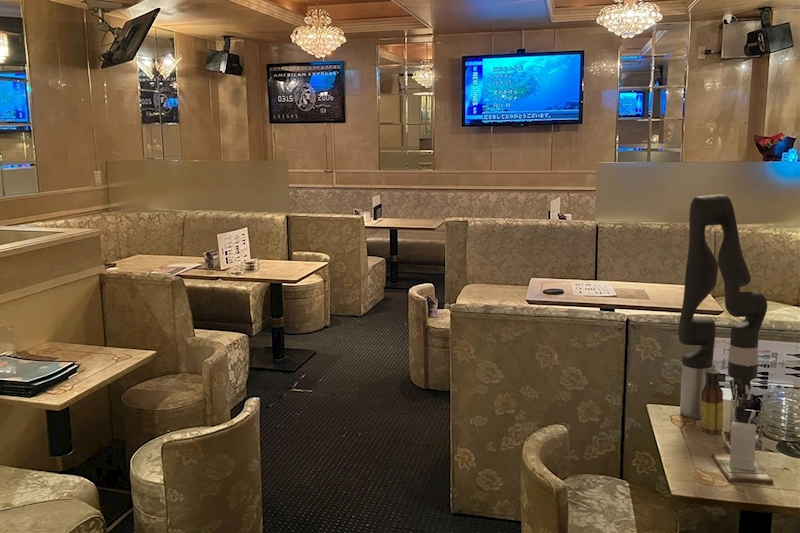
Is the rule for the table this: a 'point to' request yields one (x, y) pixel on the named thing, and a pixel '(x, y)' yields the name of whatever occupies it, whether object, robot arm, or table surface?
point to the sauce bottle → (712, 404)
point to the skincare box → (742, 446)
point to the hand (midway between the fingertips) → (739, 418)
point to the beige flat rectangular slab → (741, 471)
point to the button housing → (727, 447)
